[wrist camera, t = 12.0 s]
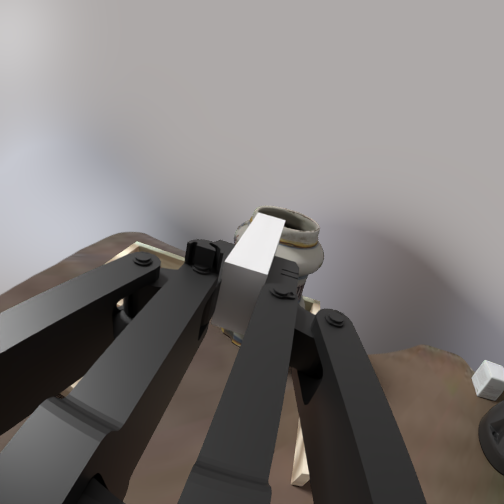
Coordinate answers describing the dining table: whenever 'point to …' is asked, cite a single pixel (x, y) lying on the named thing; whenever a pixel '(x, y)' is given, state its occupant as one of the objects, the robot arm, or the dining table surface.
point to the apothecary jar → (290, 248)
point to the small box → (489, 380)
